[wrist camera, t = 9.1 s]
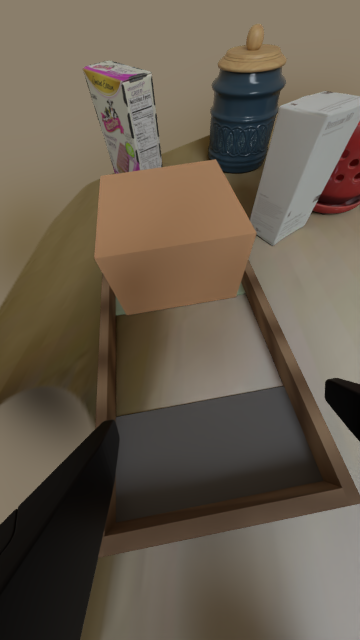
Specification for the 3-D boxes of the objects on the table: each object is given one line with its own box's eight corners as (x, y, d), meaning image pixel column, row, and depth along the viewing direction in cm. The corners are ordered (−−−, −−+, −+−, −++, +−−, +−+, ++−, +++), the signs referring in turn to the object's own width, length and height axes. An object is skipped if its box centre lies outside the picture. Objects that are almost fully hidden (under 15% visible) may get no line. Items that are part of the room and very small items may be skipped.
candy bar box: (117, 189, 42) (80, 66, 28) (137, 180, 44) (110, 59, 30) (147, 211, 38) (120, 78, 24) (167, 200, 39) (153, 68, 25)
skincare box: (272, 247, 31) (329, 117, 18) (244, 228, 34) (277, 103, 21) (306, 225, 33) (378, 94, 20) (277, 209, 36) (325, 84, 23)
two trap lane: (339, 492, 17) (363, 502, 14) (104, 540, 16) (89, 559, 14) (216, 209, 37) (217, 194, 35) (110, 226, 36) (105, 211, 34)
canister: (196, 165, 46) (198, 30, 30) (226, 143, 50) (241, 17, 35) (246, 180, 41) (278, 32, 26) (274, 155, 46) (315, 17, 30)
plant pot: (375, 218, 33) (459, 121, 23) (295, 222, 34) (341, 129, 23) (344, 178, 40) (398, 88, 29) (277, 182, 40) (307, 95, 30)
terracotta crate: (235, 297, 27) (256, 233, 18) (126, 315, 26) (94, 258, 18) (209, 228, 34) (215, 159, 25) (124, 241, 34) (100, 176, 25)
